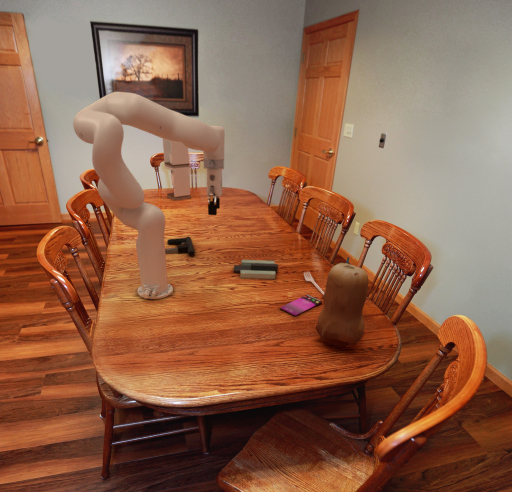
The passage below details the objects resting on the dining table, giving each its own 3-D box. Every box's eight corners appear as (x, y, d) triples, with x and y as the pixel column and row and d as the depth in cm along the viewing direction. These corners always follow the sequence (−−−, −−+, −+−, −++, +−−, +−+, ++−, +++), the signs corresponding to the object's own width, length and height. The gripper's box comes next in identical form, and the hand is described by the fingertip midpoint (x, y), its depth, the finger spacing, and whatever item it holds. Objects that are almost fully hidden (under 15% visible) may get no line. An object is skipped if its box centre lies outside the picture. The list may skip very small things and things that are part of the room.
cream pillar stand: (182, 194, 269) (178, 137, 250) (190, 198, 262) (187, 139, 243) (167, 196, 263) (162, 137, 244) (175, 200, 256) (171, 139, 237)
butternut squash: (354, 332, 128) (369, 258, 114) (365, 356, 117) (383, 277, 103) (311, 331, 127) (321, 257, 114) (318, 355, 116) (330, 276, 102)
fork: (321, 298, 147) (322, 293, 146) (302, 276, 163) (302, 271, 162) (329, 297, 148) (330, 292, 147) (309, 275, 164) (310, 271, 163)
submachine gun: (159, 253, 172) (197, 250, 175) (158, 238, 188) (193, 235, 191) (161, 261, 174) (198, 257, 176) (160, 245, 190) (193, 241, 193)
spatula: (277, 268, 168) (277, 262, 166) (277, 274, 163) (278, 267, 161) (234, 267, 167) (234, 260, 166) (233, 272, 163) (233, 266, 161)
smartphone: (322, 303, 143) (322, 301, 143) (294, 316, 134) (295, 314, 134) (306, 296, 148) (307, 294, 147) (279, 308, 139) (279, 306, 138)
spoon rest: (275, 279, 160) (275, 274, 158) (240, 278, 159) (240, 272, 158) (274, 265, 171) (274, 260, 170) (241, 264, 171) (241, 259, 170)
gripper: (221, 168, 138) (221, 218, 147) (226, 160, 152) (225, 206, 161) (199, 167, 138) (200, 217, 147) (206, 159, 152) (207, 205, 161)
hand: (214, 211), depth 154 cm, fingers open, 9 cm apart
